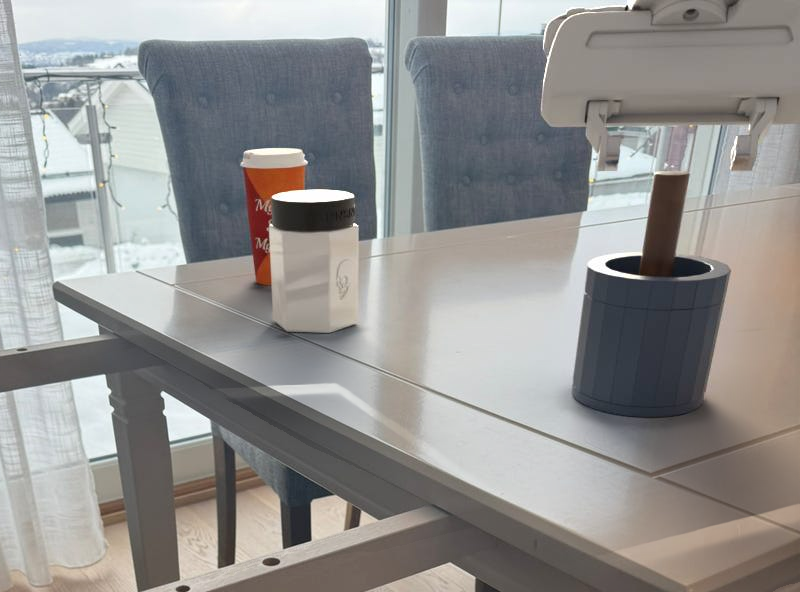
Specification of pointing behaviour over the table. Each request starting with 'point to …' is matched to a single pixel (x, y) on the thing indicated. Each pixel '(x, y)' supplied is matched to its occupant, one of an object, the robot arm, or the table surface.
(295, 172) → the paper cup
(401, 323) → the table surface
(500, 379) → the table surface
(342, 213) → the jar
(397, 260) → the table surface
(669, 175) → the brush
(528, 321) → the table surface
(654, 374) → the stoneware jar
